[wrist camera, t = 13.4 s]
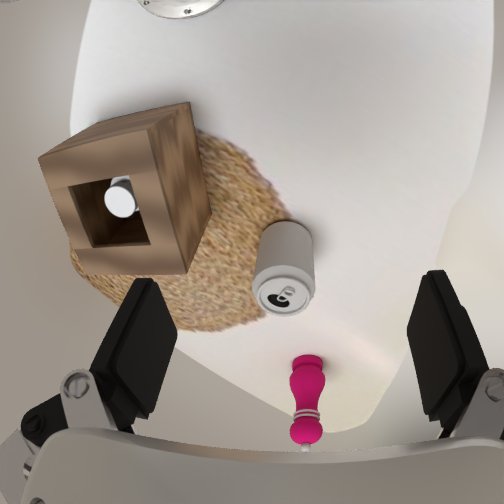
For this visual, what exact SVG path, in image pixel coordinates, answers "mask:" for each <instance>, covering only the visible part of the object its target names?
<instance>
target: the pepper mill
mask: <svg viewBox="0 0 504 504" xmlns="http://www.w3.org/2000/svg"><path fill="white" fill-rule="evenodd" d="M292 370H293V373H292V374H291V376H290V387H291V391H292V393H293V395H294V397H295V400H296V412H295V413H294V414H293V416H294V418H293V420H294V423H293V424H292V425H291V428H290V436H291V438H292V440H293V441H294V442H296V443H298V444H301V450H302V451H304V452H306V451H309V450H310V444H313V443H315V442H317V441H318V440H319V439H320V438H321V436H322V431H323V429H322V425H321V424H320V423H319V420H320V417H319V416H320V413H319V412H318V409H317V406H318V400H319V397H320V394H321V392H322V390H323V388H324V385H325V375H324V374H323V372H322V360H321V359H320V358H319V357H316V356H313V355H303V356H299V357H297V358H296V359H295V360H294V361H293V366H292Z"/></svg>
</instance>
